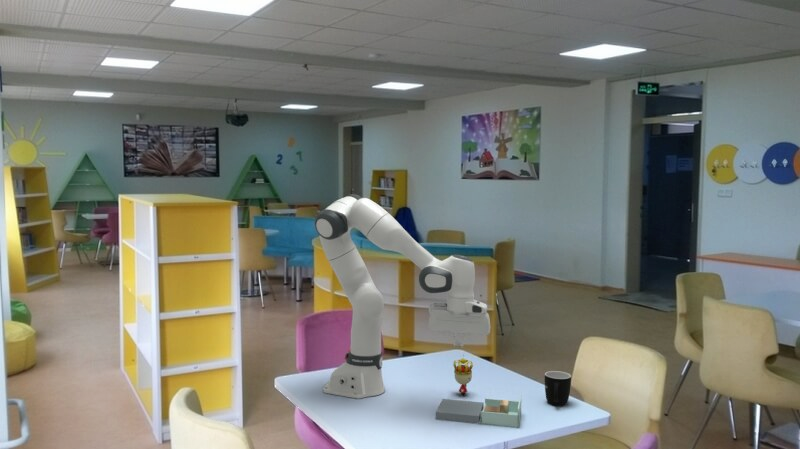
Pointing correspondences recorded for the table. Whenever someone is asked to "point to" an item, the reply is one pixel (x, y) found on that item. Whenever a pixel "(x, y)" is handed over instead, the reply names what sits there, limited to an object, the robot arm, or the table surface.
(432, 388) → the table surface
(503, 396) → the table surface
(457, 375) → the toy
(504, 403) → the tile
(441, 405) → the board
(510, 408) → the bin
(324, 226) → the robot arm
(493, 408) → the tile
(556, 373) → the mug
